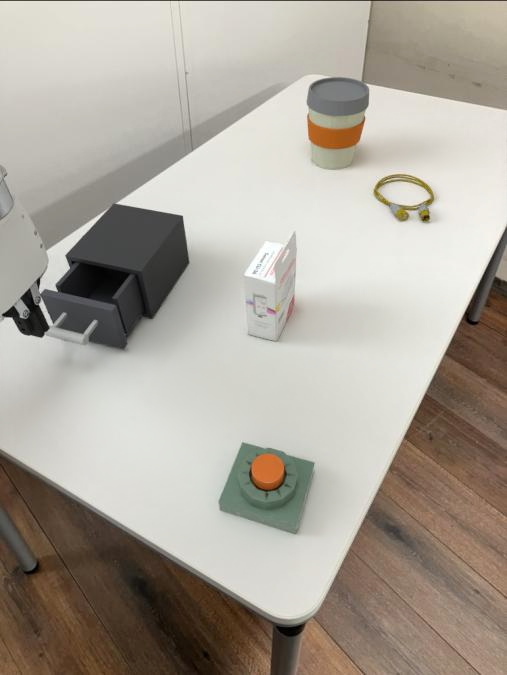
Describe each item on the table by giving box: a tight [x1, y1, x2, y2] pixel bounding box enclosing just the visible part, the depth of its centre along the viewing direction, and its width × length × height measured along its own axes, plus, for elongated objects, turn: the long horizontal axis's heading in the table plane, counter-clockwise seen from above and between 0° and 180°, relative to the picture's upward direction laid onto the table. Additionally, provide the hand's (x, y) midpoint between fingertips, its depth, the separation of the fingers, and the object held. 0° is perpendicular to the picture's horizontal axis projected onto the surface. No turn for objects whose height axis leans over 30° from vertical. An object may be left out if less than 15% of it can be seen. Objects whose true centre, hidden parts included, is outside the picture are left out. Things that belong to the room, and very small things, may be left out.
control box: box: [218, 441, 316, 535], centre depth 58 cm, size 9×8×4 cm
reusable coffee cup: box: [306, 76, 370, 170], centre depth 107 cm, size 13×13×15 cm
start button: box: [251, 454, 284, 490], centre depth 56 cm, size 4×4×2 cm
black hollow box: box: [64, 203, 190, 320], centre depth 82 cm, size 15×13×10 cm
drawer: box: [40, 262, 146, 350], centre depth 76 cm, size 18×11×8 cm, turn 161°
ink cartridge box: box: [243, 230, 298, 342], centre depth 73 cm, size 9×5×15 cm, turn 158°
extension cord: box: [373, 173, 435, 223], centre depth 100 cm, size 12×16×2 cm
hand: (35, 330), depth 63 cm, fingers closed
